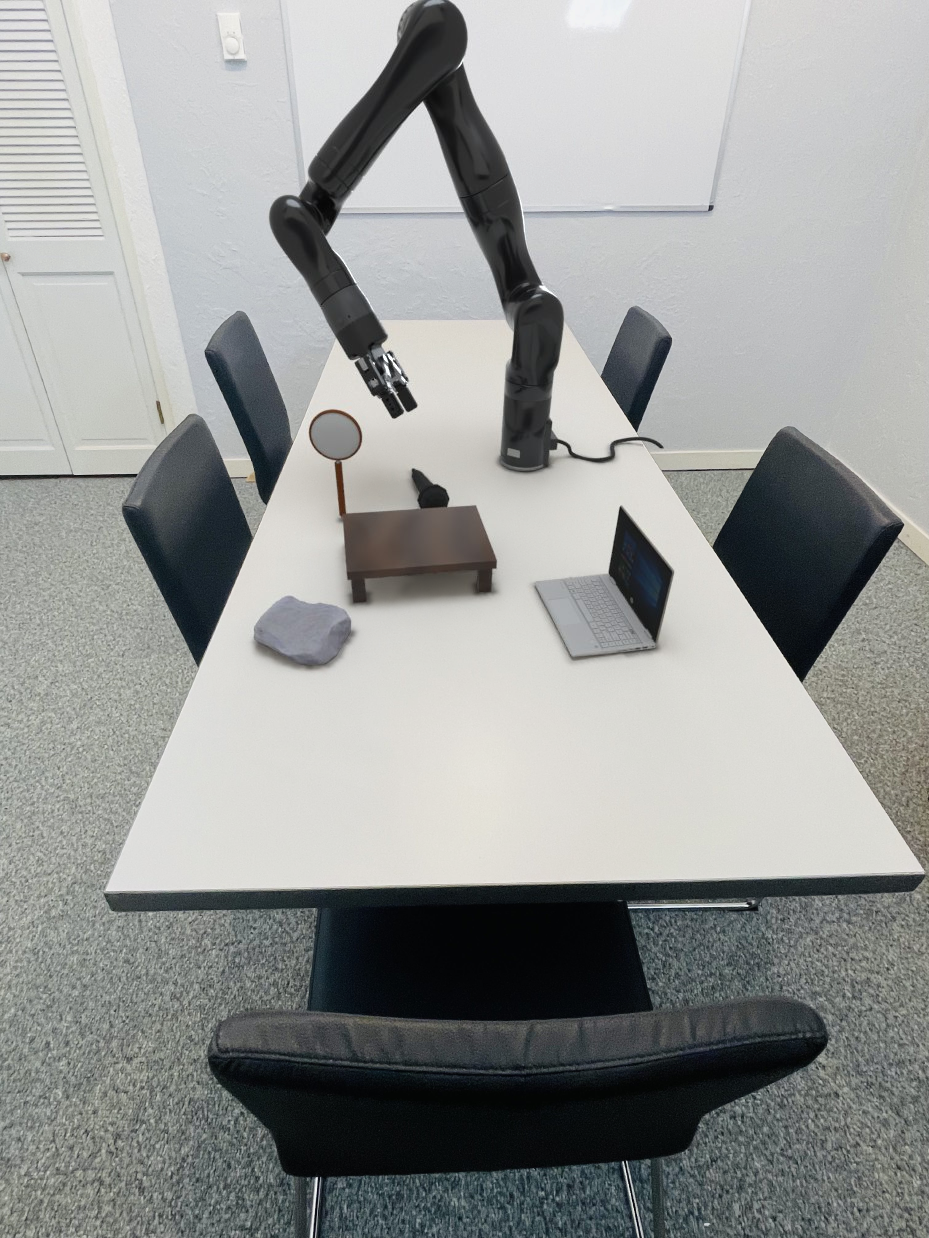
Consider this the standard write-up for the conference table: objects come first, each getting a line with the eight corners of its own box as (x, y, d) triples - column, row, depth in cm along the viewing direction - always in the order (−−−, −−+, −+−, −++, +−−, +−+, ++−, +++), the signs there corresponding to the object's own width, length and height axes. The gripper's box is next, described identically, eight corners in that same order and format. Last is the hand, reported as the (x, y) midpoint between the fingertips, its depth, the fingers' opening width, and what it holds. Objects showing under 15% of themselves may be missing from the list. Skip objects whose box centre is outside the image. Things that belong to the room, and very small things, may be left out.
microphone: (405, 487, 142) (428, 525, 125) (394, 462, 138) (417, 497, 122) (430, 477, 142) (456, 513, 125) (420, 451, 139) (446, 484, 122)
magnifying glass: (317, 521, 124) (305, 411, 112) (319, 516, 126) (307, 406, 114) (367, 523, 124) (359, 412, 112) (368, 518, 126) (361, 408, 114)
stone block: (326, 680, 95) (357, 625, 101) (318, 657, 91) (351, 602, 97) (250, 661, 98) (284, 610, 104) (239, 639, 94) (275, 587, 101)
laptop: (533, 585, 110) (540, 511, 103) (609, 577, 113) (622, 504, 105) (571, 660, 97) (583, 581, 89) (657, 649, 99) (676, 571, 91)
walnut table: (474, 536, 122) (476, 505, 118) (495, 593, 109) (497, 560, 105) (345, 545, 119) (342, 513, 115) (349, 605, 105) (346, 571, 102)
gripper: (358, 309, 107) (413, 406, 111) (385, 309, 120) (434, 396, 124) (319, 336, 110) (375, 430, 114) (350, 334, 123) (400, 418, 127)
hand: (406, 413), depth 119 cm, fingers open, 8 cm apart
